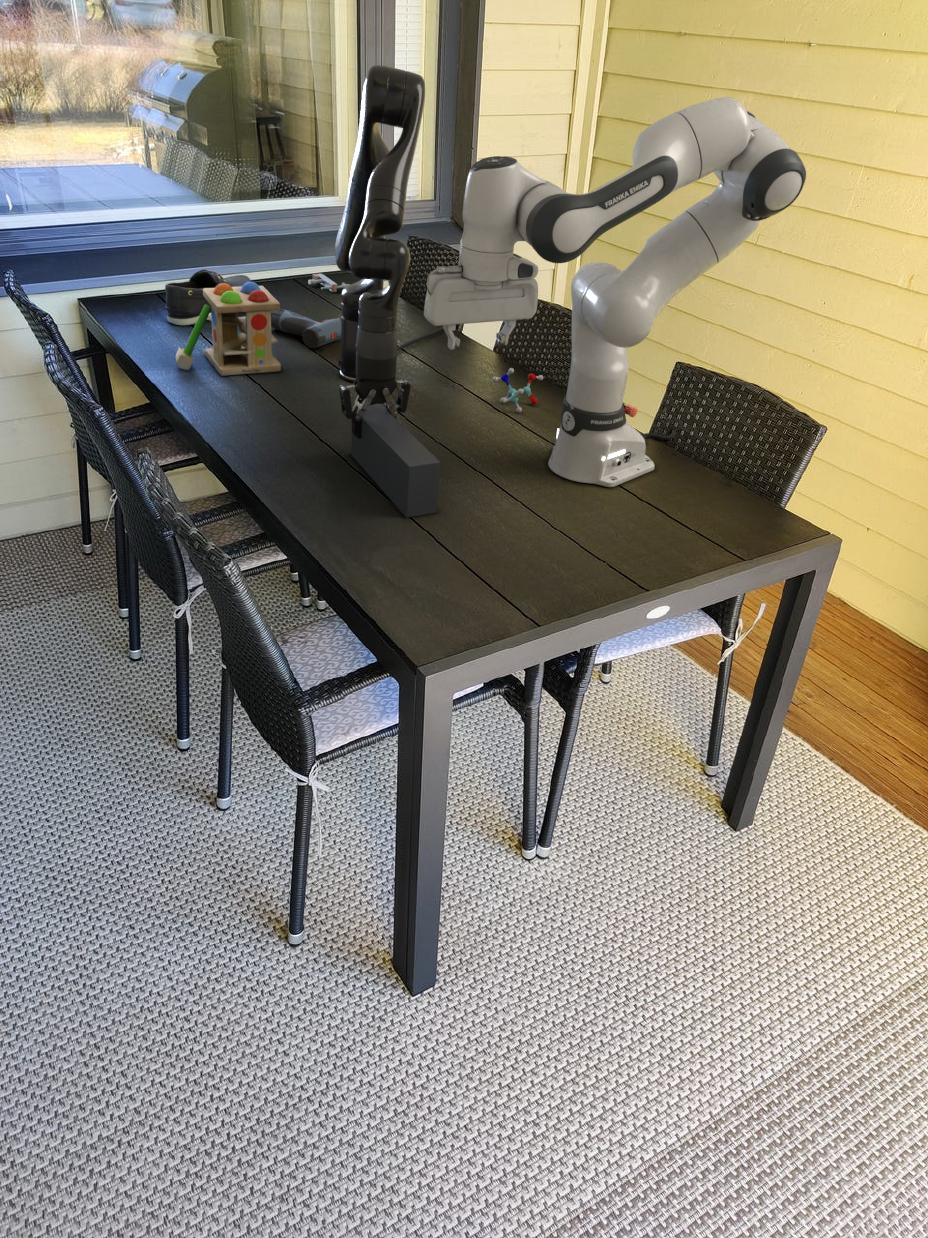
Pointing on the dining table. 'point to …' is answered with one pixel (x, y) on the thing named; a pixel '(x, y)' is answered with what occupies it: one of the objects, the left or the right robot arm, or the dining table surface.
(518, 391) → the molecular model
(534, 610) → the dining table surface
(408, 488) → the box
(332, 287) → the clamp
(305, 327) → the power drill
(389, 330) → the left robot arm
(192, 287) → the boat shoe
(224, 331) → the pounding bench toy
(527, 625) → the dining table surface
